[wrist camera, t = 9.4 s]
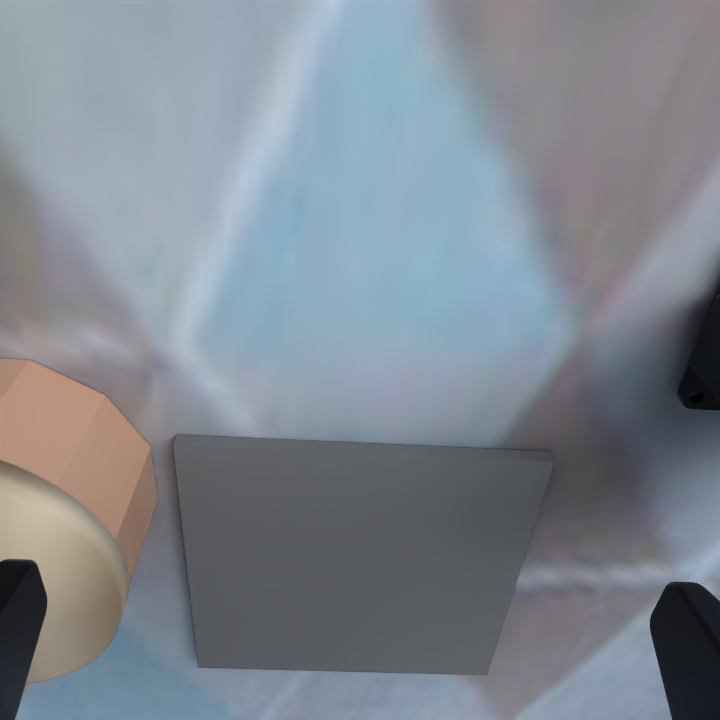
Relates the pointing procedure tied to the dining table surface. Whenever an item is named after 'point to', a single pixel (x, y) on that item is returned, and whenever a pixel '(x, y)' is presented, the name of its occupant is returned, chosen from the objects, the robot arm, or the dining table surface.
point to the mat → (353, 551)
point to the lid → (63, 570)
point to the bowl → (79, 449)
